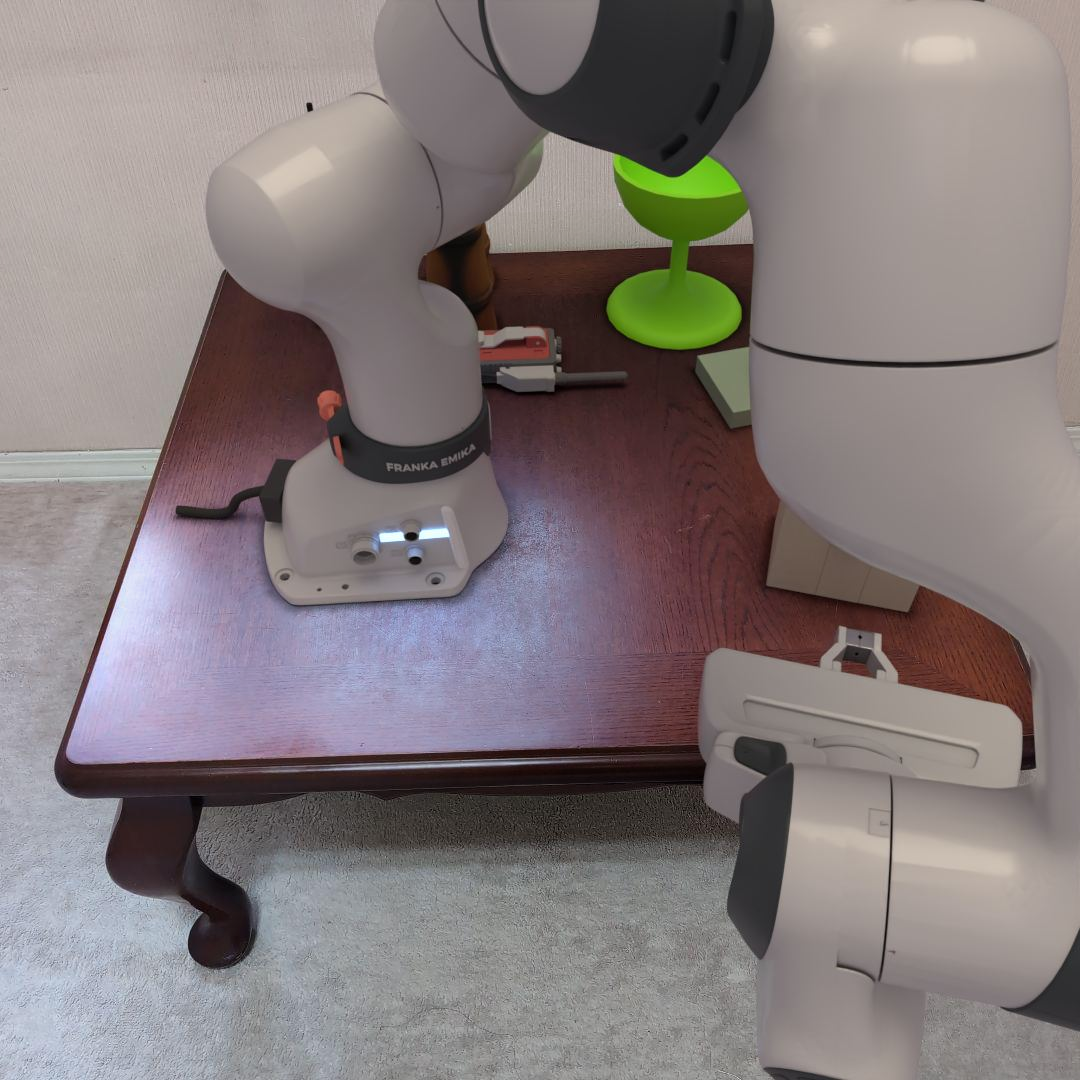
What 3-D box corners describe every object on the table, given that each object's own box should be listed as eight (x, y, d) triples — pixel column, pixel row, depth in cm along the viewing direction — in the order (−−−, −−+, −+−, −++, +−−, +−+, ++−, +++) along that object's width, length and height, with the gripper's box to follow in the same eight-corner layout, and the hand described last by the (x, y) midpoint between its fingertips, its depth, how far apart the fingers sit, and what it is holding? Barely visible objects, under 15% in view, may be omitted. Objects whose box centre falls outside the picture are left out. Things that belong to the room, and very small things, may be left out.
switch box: (730, 429, 97) (735, 398, 95) (694, 372, 104) (698, 341, 101) (836, 408, 99) (845, 378, 97) (795, 354, 106) (802, 323, 103)
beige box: (765, 585, 83) (796, 464, 73) (774, 522, 88) (804, 400, 78) (907, 612, 81) (960, 491, 70) (908, 546, 86) (957, 423, 76)
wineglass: (589, 284, 116) (593, 139, 103) (710, 265, 119) (730, 120, 106) (631, 359, 106) (642, 208, 93) (764, 336, 108) (793, 186, 95)
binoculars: (428, 265, 120) (411, 103, 105) (493, 262, 120) (485, 101, 105) (425, 351, 107) (405, 181, 93) (498, 347, 108) (490, 178, 93)
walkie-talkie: (441, 399, 101) (628, 392, 102) (437, 365, 98) (630, 358, 99) (443, 350, 107) (619, 343, 108) (440, 317, 104) (621, 310, 105)
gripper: (1050, 827, 53) (1030, 637, 62) (689, 746, 57) (720, 578, 66) (1010, 875, 58) (998, 691, 67) (679, 797, 62) (709, 633, 71)
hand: (857, 634), depth 67 cm, fingers closed
